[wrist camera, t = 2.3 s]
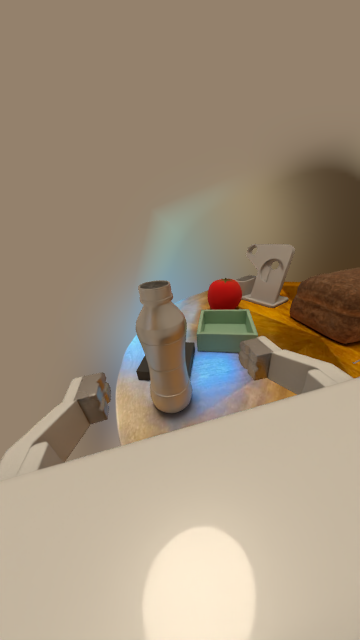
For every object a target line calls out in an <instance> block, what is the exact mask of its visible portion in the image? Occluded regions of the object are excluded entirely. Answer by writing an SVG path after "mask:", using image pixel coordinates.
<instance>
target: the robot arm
mask: <svg viewBox="0 0 360 640" xmlns="http://www.w3.org/2000/svg"><path fill="white" fill-rule="evenodd" d="M239 347H240V349H241V351H240V352H239V360H240V363H241V365H242V366H243V367H244V368H246V369H248V374H249V375H250V376H251V377H252V378H253V380H254V381H255V380H259V379H263V378H268V379H270V380H272V381H274V382H275V383H277V384H279V385H281V386H283V387H285V388H286V389H288V390H290V391H292V392H294V393H296V394H297V395H296V396H292V397H289V398H285V399H282V400H278V401H275V402H271V403H268V404H265V405H261V406H258V407H254V408H251V409H247V410H244V411H240V412H237V413H233V414H230V415H227V416H223V417H220V418H216V419H213V420H209V421H206V422H202V423H199V424H195V425H192V426H189V427H185V428H182V429H178V430H175V431H171V432H168V433H164V434H161V435H157V436H154V437H150V438H147V439H144V440H140V441H137V442H133V443H130V444H126V445H123V446H119V447H116V448H112V449H109V450H106V451H102V452H99V453H96V454H92V455H88V456H85V457H82V458H78V459H75V460H71V461H68V462H65V461H66V459H67V458H68V457H69V455H70V454H71V452H72V451H73V449H74V448H75V447H76V445H77V444H78V442H79V441H80V439H81V438H82V437H83V435H84V434H85V432H86V430H87V429H88V428H89V426H90V424H93V423H97V422H100V421H103V420H107V419H108V412H109V406H108V403H109V402H110V400H111V390H110V386H109V384H108V383H107V382H106V376H105V374H104V373H98V374H93V375H88V376H84V377H78V378H74V379H73V380H72V381H71V384H70V386H69V388H68V391H67V393H66V395H65V397H64V400H63V401H62V404H58V405H57V406H56V407H55V408H54V409H53V410H52V411H51V412H49V413H48V414H47V415H46V416H45V417H44V418H43V419H42V420H40V421H39V422H38V423H37V424H36V425H35V426H34V427H33V428H32V429H30V430H29V431H28V432H27V433H26V434H25V435H24V436H23V437H22V438H20V439H19V440H18V441H17V442H16V443H15V444H14V445H13V446H11V447H10V448H9V449H8V450H7V451H6V453H5V454H4V456H3V458H2V459H1V461H0V640H360V377H358V378H352V377H351V376H349V375H348V374H346V373H345V372H343V371H342V370H340V369H339V368H337V367H336V366H334V365H333V364H330V363H327V362H324V361H320V360H317V359H314V358H310V357H307V356H304V355H301V354H297V353H294V352H291V351H287V350H281V349H280V348H279V347H278V346H276V345H275V344H274V343H272V342H271V341H270V340H269V339H267V338H266V337H264V336H261V337H257V338H254V339H250V340H245V341H241V342H240V344H239Z"/></svg>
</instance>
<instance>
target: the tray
mask: <svg viewBox="0 0 360 640" xmlns="http://www.w3.org/2000/svg"><path fill="white" fill-rule="evenodd" d="M257 337H258V333H257V331H256V328H255V325H254V322H253V320H252V317H251V314H250V311H249V309H239V310H201V315H200V320H199V325H198V330H197V346H198V351H209V352H234V353H239V352H240V351H241V349H240V347H239V344H240V342H241V341H245V340H250V339H254V338H257Z"/></svg>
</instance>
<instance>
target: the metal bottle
mask: <svg viewBox="0 0 360 640" xmlns="http://www.w3.org/2000/svg"><path fill="white" fill-rule="evenodd" d="M138 289H139V293H140V302H141V303H142V304H144V306H143V308H142V310H141V312H140V314H139V317H138V319H137V321H136V332H137V336H138V338H139V340H140V343H141V345H142V348H143V350H144V353H145V356H146V359H147V362H148V366H149V371H150V380H151V384H150V393H151V399H152V401H153V403H154V405H155V406H156V408H158V409H159V410H160V411H162V412H166V413H176V412H179V411H181V410H183V409H184V408H185V407H186V406H187V405H188V404H189V402H190V400H191V395H192V385H191V382H190V379H189V376H188V372H187V367H186V362H185V342H186V330H187V323H186V319H185V317H184V315H183V313H182V312H181V311H180V310H179V309H178V307H176V306H175V305H174V304H173V303H172V302H171V300H172V299H173V294H172V293H171V286H170V283H169V282H168V281H151V282H146V283H143V284H141V285H139V287H138Z"/></svg>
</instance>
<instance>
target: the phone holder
mask: <svg viewBox="0 0 360 640" xmlns="http://www.w3.org/2000/svg"><path fill="white" fill-rule="evenodd" d="M256 247H257V252H256V254H255V255H252V250H253V249H254V248H256ZM294 253H295V249H294V247H293V246H291V245H289V244H253V245H251V246H250V247H249V248H248V250H247V254H246V255H247V257H248V258H249V260H250V261H251V262H252V264H253V265H254V266H255V267H256V269H257V270H258V273H257V277H256V276H245V277H243V278H239V279H237V280H235V281H237V282H238V283H239V285H240V287H241V290H242V298H241V299H243V300H246V301H249V302H253V303H256V304H259V305H263V306H266V307H270V308H274V307H277V306H279V305H281V304H283V303H285V302H287V301H288V298H287V297H283V296H279V295H280V292H281V289H282V286H283V284H284V281H285V278H286V275H287V272H288V269H289V267H290V264H291V261H292V258H293V255H294ZM275 261H278V262H279V267H278V268H277V269H276V270H273V269H271V265H272V263H273V262H275Z"/></svg>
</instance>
